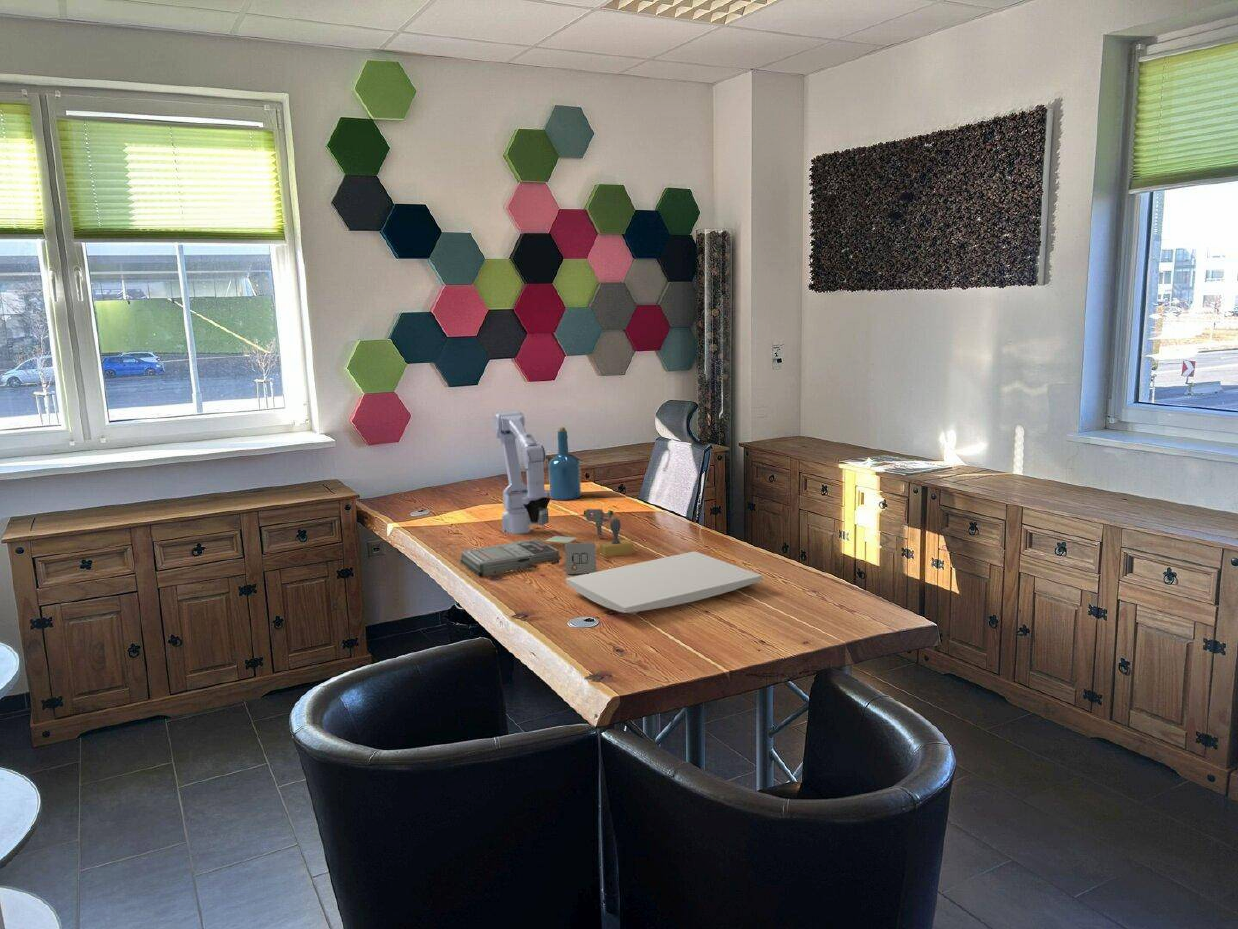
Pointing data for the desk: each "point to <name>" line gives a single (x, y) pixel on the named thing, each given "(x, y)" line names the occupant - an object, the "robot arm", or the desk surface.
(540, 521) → the block
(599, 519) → the mechanical component
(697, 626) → the desk surface
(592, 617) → the desk surface
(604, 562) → the desk surface
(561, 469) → the wine bottle
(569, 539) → the stand
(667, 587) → the board
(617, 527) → the rubber stamp
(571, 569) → the electrical switch
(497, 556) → the hard drive
